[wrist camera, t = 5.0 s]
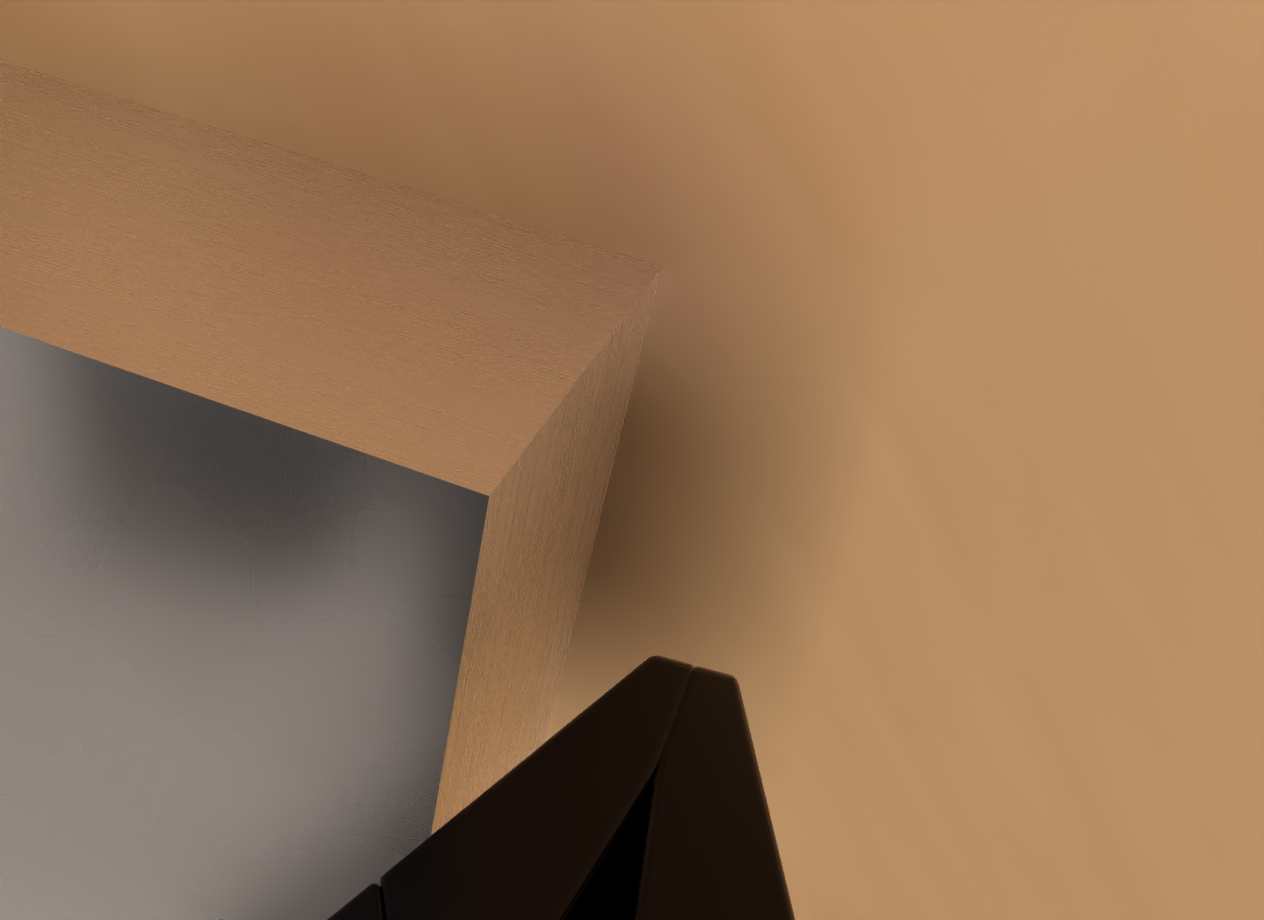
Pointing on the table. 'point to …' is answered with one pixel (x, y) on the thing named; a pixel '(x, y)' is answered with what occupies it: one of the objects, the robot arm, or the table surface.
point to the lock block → (275, 508)
